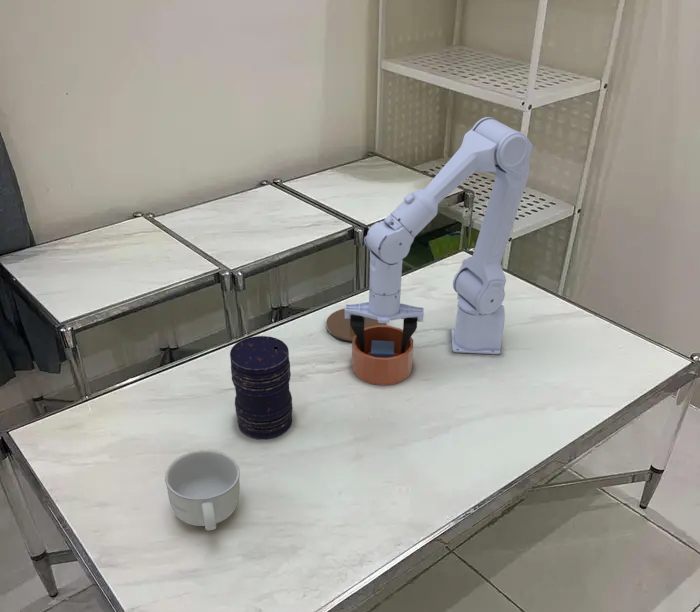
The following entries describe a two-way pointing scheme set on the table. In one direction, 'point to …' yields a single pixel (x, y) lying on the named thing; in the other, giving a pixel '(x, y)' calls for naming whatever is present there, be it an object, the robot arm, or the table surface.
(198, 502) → the teacup
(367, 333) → the bowl
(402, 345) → the robot arm
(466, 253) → the table surface
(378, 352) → the block
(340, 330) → the lid
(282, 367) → the storage jar
